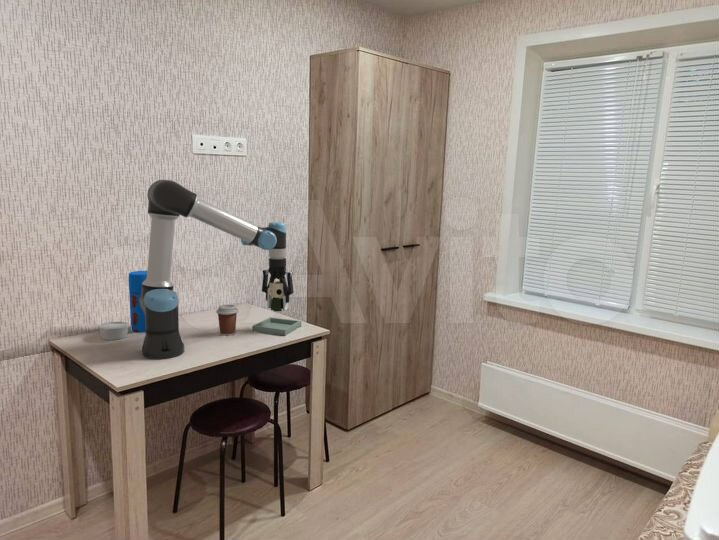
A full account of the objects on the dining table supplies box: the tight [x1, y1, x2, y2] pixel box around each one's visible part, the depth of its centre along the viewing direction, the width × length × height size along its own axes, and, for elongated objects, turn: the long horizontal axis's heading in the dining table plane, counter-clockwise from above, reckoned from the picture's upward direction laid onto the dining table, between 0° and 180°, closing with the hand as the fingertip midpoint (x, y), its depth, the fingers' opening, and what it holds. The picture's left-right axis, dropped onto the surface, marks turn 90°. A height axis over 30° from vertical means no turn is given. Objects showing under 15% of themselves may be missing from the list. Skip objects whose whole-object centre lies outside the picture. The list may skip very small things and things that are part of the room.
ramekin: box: [98, 321, 130, 341], centre depth 212 cm, size 11×11×5 cm
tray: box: [251, 316, 302, 337], centre depth 230 cm, size 16×16×2 cm
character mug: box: [268, 280, 285, 312], centre depth 228 cm, size 11×7×13 cm, turn 140°
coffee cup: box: [215, 304, 239, 337], centre depth 220 cm, size 9×9×12 cm
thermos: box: [128, 270, 147, 333], centre depth 222 cm, size 11×11×25 cm
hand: (277, 308), depth 229 cm, fingers closed on character mug, 7 cm apart
